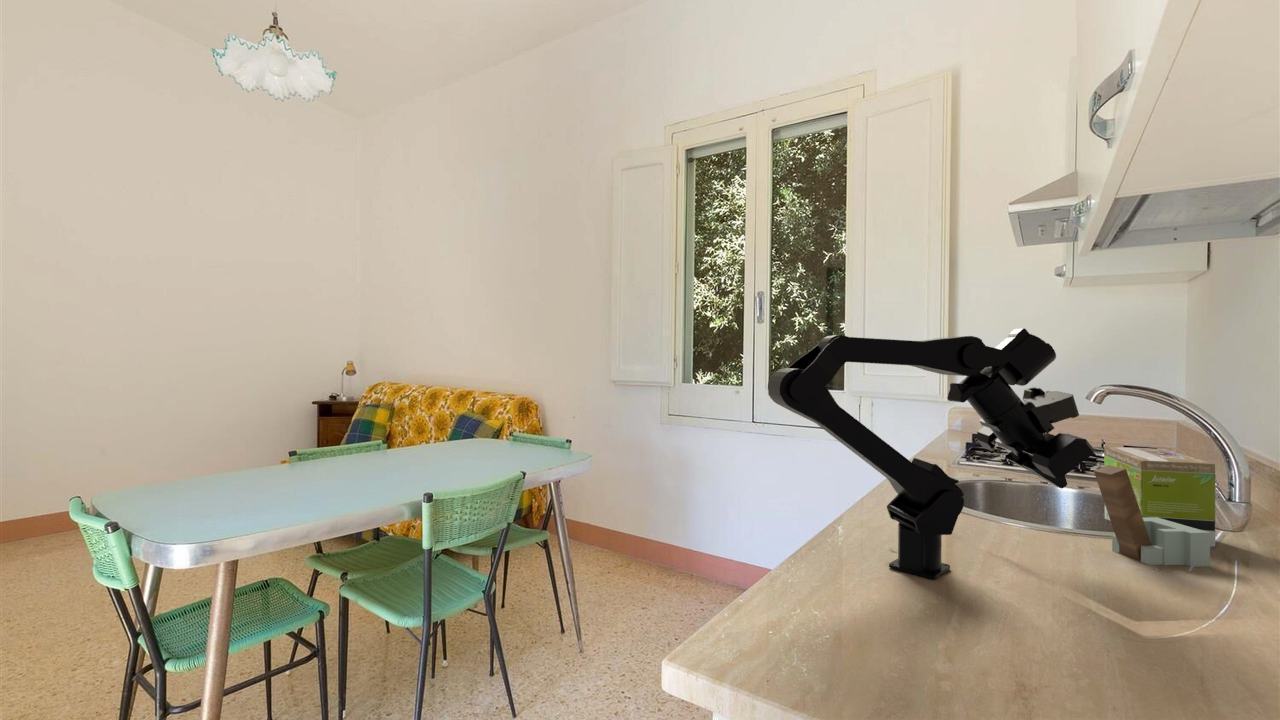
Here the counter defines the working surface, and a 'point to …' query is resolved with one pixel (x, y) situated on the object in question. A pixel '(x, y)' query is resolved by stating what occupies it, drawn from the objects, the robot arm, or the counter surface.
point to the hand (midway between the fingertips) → (1063, 486)
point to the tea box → (1169, 485)
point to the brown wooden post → (1123, 510)
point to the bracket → (1173, 544)
